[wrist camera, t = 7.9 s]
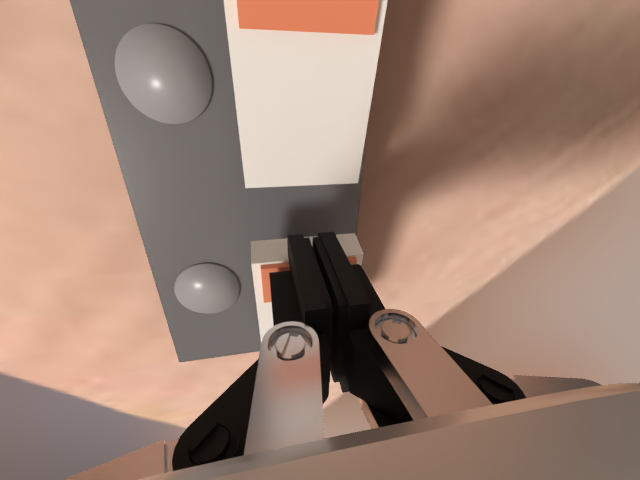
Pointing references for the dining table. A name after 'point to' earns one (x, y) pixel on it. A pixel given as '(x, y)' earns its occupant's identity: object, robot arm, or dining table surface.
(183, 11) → the strip
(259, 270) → the block
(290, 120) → the rocker middle
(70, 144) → the dining table surface
